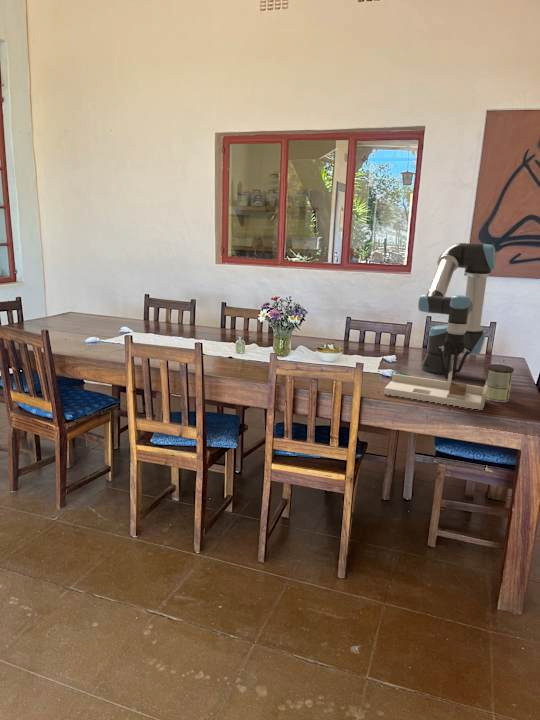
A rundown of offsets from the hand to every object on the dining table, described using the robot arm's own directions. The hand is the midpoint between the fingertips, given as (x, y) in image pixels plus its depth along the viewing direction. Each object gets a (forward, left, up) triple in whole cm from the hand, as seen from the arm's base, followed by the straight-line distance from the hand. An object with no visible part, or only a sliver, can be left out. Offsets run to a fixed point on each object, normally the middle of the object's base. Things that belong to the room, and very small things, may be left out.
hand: (448, 387), depth 224 cm
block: (+1, +4, -2) cm, 4 cm away
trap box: (+3, -5, -5) cm, 8 cm away
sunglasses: (-13, -20, -6) cm, 25 cm away
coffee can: (-11, +19, -5) cm, 23 cm away
